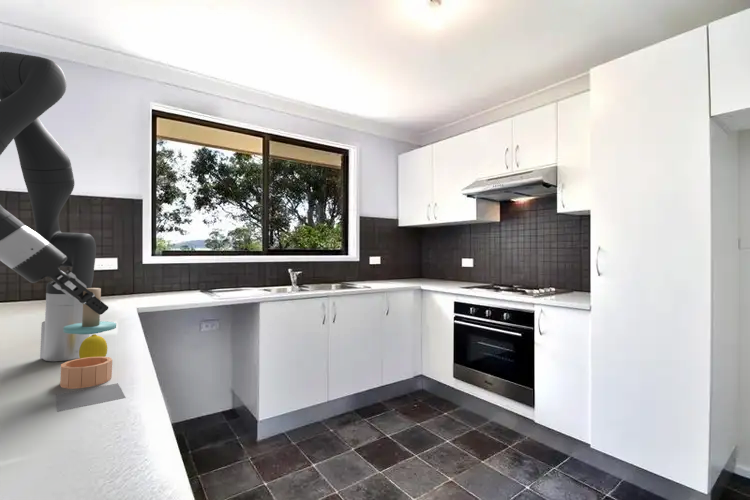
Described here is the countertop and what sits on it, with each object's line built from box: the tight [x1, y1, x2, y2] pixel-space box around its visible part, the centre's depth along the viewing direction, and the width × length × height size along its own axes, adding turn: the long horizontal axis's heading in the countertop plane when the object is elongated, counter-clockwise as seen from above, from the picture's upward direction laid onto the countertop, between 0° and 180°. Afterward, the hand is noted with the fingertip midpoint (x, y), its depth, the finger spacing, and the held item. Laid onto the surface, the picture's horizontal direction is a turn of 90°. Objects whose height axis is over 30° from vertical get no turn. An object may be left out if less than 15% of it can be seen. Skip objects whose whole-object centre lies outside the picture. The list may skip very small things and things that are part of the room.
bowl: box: [59, 356, 113, 390], centre depth 78 cm, size 9×9×4 cm
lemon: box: [79, 333, 108, 358], centre depth 89 cm, size 6×6×8 cm
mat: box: [55, 383, 126, 413], centre depth 70 cm, size 10×10×1 cm
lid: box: [63, 287, 117, 335], centre depth 78 cm, size 9×9×9 cm
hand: (103, 310), depth 80 cm, fingers closed on lid, 3 cm apart
